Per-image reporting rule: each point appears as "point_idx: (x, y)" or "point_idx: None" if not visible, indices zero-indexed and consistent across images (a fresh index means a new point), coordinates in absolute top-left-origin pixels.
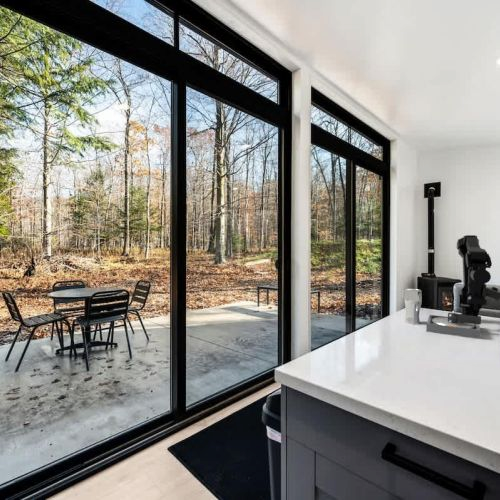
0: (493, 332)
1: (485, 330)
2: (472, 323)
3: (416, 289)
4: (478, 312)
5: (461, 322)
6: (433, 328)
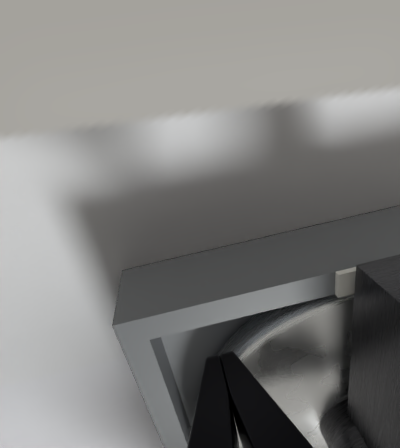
0: (199, 132)
1: (168, 204)
2: (328, 320)
3: None
4: (292, 425)
5: (339, 381)
6: None
